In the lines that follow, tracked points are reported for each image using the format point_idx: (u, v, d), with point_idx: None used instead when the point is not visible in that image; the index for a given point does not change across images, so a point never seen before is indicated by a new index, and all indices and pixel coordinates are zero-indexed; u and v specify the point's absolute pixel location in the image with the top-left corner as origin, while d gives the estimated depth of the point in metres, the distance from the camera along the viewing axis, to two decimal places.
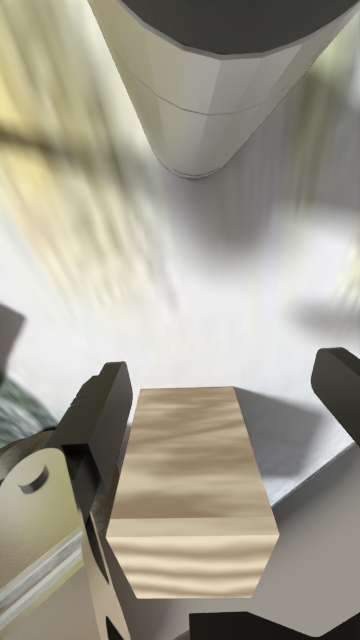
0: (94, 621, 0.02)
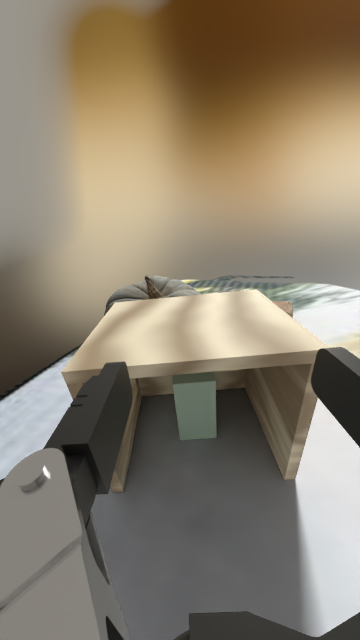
0: (94, 621, 0.02)
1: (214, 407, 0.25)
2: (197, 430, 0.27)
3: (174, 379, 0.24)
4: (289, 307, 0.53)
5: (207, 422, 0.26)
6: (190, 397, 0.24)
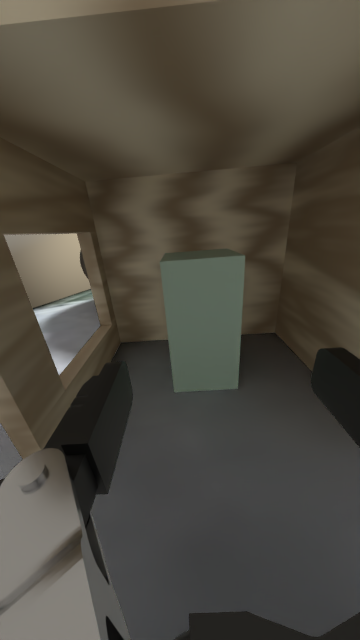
0: (94, 621, 0.02)
1: (239, 321, 0.13)
2: (205, 372, 0.15)
3: (164, 259, 0.13)
4: None
5: (223, 356, 0.15)
6: (193, 296, 0.13)
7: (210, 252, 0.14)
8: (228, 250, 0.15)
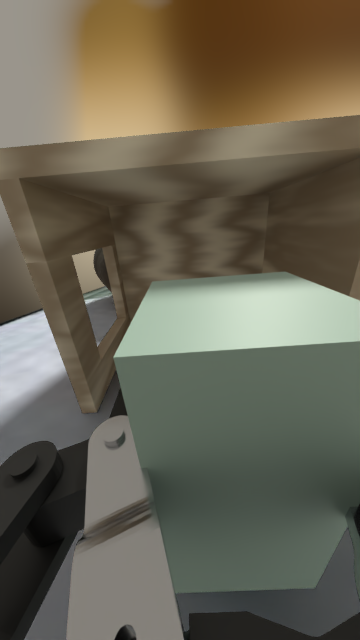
0: (169, 581, 0.03)
1: (357, 495, 0.05)
2: (244, 570, 0.06)
3: (137, 331, 0.04)
4: None
5: (293, 549, 0.06)
6: (232, 446, 0.04)
7: (262, 289, 0.06)
8: (304, 282, 0.06)
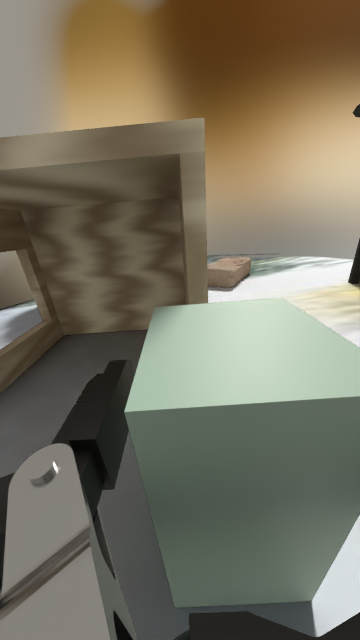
0: (103, 615, 0.02)
1: (349, 521, 0.05)
2: (244, 586, 0.07)
3: (145, 378, 0.04)
4: None
5: (291, 568, 0.06)
6: (233, 482, 0.04)
7: (260, 322, 0.06)
8: (300, 314, 0.06)
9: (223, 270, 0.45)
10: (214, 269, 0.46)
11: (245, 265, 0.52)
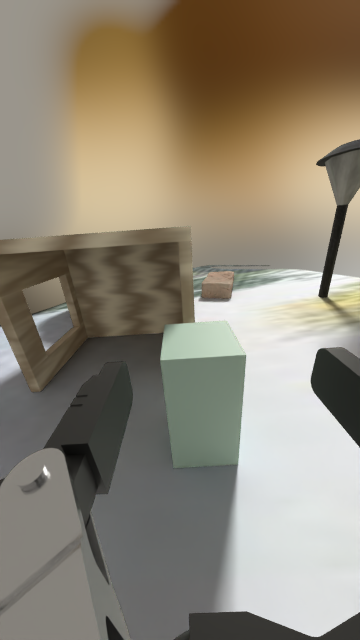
0: (94, 621, 0.02)
1: (239, 408, 0.13)
2: (204, 451, 0.15)
3: (164, 352, 0.13)
4: None
5: (223, 438, 0.14)
6: (194, 388, 0.13)
7: (210, 333, 0.14)
8: (228, 329, 0.15)
9: (222, 284, 0.53)
10: (214, 283, 0.54)
11: (233, 278, 0.62)
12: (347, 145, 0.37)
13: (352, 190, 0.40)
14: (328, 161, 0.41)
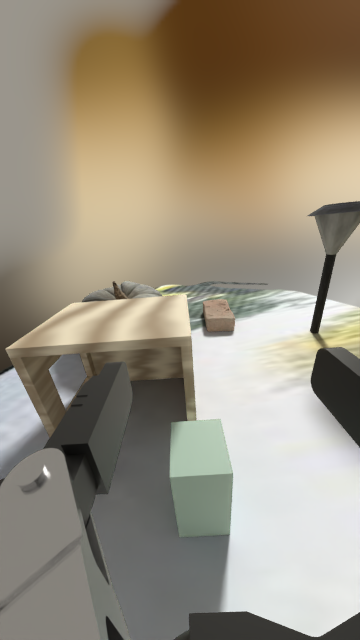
0: (94, 622, 0.02)
1: (229, 502, 0.18)
2: (203, 527, 0.19)
3: (172, 466, 0.17)
4: (216, 300, 0.71)
5: (217, 519, 0.19)
6: (194, 491, 0.17)
7: (207, 439, 0.19)
8: (221, 434, 0.19)
9: (227, 318, 0.57)
10: (219, 318, 0.58)
11: None
12: (333, 207, 0.40)
13: (339, 243, 0.44)
14: (317, 216, 0.44)
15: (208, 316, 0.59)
